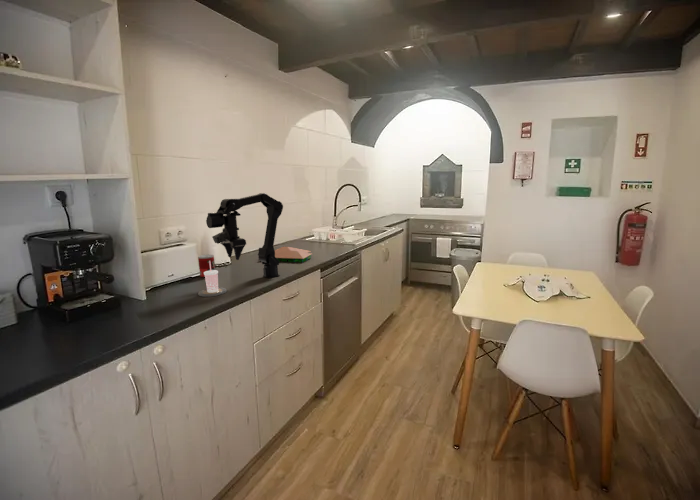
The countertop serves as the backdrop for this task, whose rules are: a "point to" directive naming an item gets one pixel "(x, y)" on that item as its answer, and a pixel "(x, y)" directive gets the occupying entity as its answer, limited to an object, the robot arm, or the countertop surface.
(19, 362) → the countertop surface
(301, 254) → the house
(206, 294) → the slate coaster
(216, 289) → the beverage cup
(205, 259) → the canned food
